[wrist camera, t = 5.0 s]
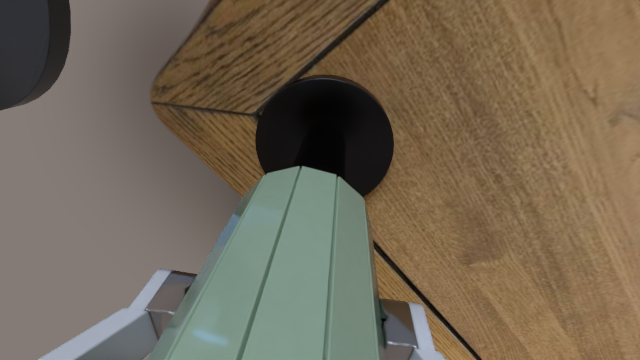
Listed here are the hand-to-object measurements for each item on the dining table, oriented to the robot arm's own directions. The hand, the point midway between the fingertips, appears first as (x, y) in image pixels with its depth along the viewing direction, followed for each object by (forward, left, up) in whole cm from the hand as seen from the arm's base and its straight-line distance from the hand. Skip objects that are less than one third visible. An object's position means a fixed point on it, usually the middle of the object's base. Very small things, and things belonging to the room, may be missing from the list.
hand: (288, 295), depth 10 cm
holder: (0, 0, -15) cm, 15 cm away
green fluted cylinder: (0, 0, -4) cm, 4 cm away
